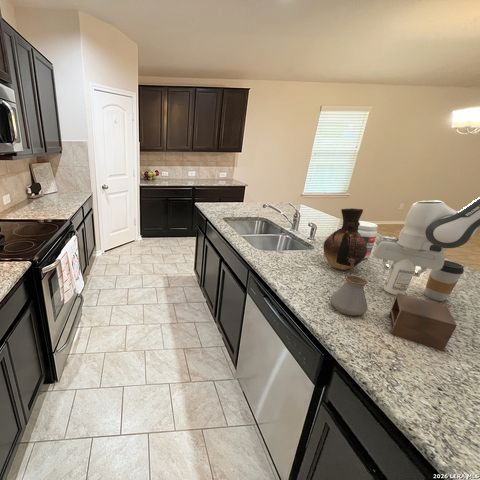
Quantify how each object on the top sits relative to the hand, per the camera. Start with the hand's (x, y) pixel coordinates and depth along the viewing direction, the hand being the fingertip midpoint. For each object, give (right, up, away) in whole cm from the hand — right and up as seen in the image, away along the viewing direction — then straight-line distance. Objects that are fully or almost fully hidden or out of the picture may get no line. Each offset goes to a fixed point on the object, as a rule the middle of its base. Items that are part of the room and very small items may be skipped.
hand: (400, 272), depth 103 cm
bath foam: (0, -9, +3) cm, 9 cm away
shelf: (-14, -17, -19) cm, 30 cm away
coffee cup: (+14, -10, 0) cm, 17 cm away
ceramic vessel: (-7, 0, +25) cm, 26 cm away
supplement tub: (+11, +5, +38) cm, 40 cm away
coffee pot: (-26, -11, -4) cm, 29 cm away
